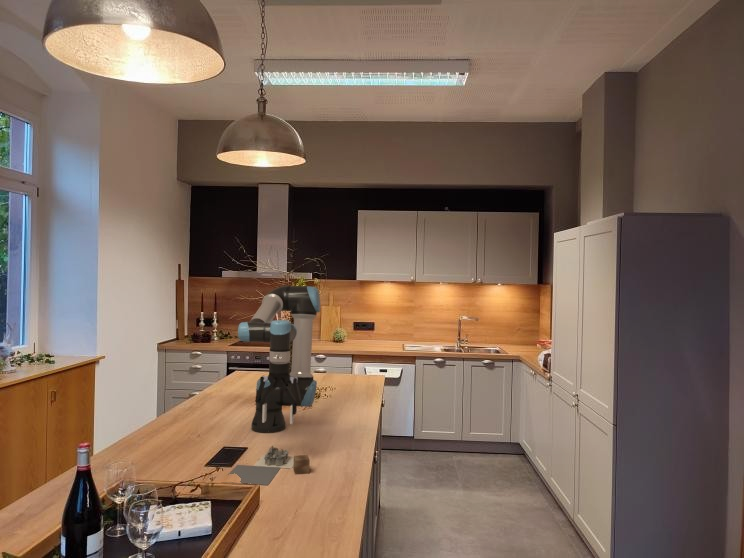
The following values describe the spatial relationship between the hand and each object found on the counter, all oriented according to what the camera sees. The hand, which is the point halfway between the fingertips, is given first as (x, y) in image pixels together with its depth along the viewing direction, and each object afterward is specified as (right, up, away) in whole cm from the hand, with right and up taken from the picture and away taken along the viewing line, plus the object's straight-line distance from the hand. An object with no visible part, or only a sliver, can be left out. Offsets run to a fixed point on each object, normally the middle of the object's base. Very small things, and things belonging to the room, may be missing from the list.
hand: (277, 422), depth 196 cm
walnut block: (+10, -15, -9) cm, 20 cm away
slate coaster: (-7, -15, -13) cm, 21 cm away
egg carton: (0, -15, 0) cm, 15 cm away
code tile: (0, -15, 0) cm, 15 cm away
